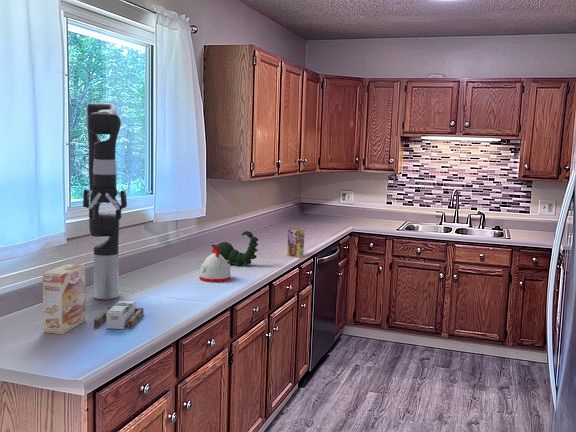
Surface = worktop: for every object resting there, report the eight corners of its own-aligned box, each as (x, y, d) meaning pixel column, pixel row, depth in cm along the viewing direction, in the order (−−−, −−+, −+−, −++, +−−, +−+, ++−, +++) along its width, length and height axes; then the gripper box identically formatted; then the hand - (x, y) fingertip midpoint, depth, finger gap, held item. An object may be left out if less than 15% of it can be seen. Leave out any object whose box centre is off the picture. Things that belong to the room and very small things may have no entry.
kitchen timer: (204, 283, 262) (204, 249, 260) (196, 276, 274) (196, 244, 272) (234, 281, 268) (235, 248, 266) (225, 274, 280) (225, 243, 278)
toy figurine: (257, 268, 303) (214, 259, 312) (261, 231, 300) (217, 223, 309) (250, 272, 294) (205, 262, 303) (254, 234, 291) (208, 225, 300)
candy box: (304, 256, 329) (305, 229, 327) (299, 257, 325) (299, 229, 323) (292, 254, 334) (292, 227, 333) (286, 255, 331) (287, 228, 329)
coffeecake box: (63, 334, 190) (62, 274, 187) (42, 332, 191) (41, 272, 189) (86, 320, 204) (86, 264, 202) (67, 319, 206) (66, 263, 203)
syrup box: (105, 312, 196) (119, 299, 210) (105, 329, 196) (119, 315, 211) (123, 312, 196) (135, 300, 210) (123, 330, 196) (135, 316, 211)
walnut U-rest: (108, 313, 213) (108, 306, 213) (143, 314, 213) (143, 308, 213) (93, 327, 198) (93, 320, 197) (131, 328, 198) (131, 321, 197)
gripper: (128, 172, 207) (128, 219, 209) (87, 171, 207) (88, 218, 209) (122, 174, 200) (122, 222, 202) (79, 172, 200) (80, 221, 202)
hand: (105, 220), depth 205 cm, fingers open, 8 cm apart
